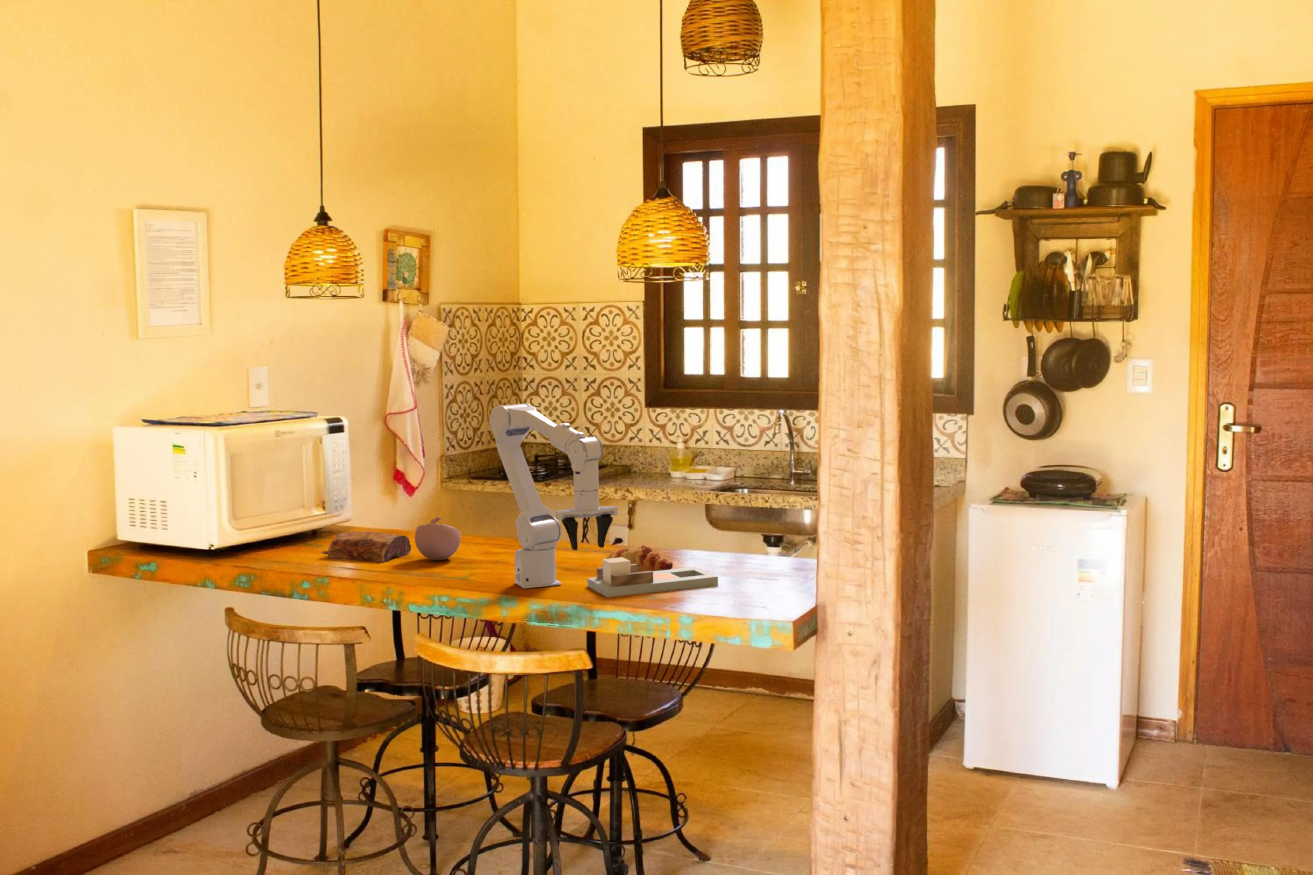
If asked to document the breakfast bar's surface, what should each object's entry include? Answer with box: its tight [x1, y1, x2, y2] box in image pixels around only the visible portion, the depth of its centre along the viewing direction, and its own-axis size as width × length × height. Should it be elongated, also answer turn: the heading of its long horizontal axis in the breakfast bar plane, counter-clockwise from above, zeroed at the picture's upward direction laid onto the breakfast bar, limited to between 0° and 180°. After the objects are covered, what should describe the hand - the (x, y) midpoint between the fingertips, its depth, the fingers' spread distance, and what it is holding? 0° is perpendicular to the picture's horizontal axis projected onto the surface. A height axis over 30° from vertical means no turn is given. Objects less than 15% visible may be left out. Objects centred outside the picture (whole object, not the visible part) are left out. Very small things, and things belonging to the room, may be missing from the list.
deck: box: [586, 566, 719, 598], centre depth 302 cm, size 28×13×2 cm, turn 113°
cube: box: [602, 557, 631, 584], centre depth 298 cm, size 5×5×5 cm
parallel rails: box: [596, 564, 653, 587], centre depth 299 cm, size 10×11×2 cm
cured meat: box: [321, 530, 412, 563], centre depth 349 cm, size 18×25×7 cm
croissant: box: [604, 544, 674, 572], centre depth 320 cm, size 21×10×8 cm, turn 54°
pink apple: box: [414, 516, 462, 561], centre depth 339 cm, size 12×12×11 cm
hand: (587, 548), depth 295 cm, fingers open, 6 cm apart
